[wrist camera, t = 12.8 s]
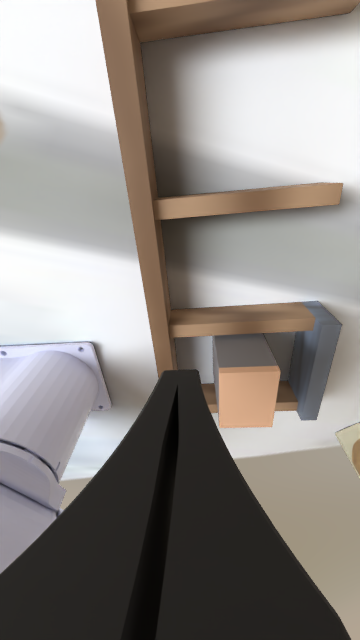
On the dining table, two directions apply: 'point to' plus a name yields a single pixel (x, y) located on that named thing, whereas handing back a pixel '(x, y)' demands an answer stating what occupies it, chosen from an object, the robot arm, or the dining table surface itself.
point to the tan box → (244, 380)
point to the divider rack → (148, 210)
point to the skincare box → (351, 444)
